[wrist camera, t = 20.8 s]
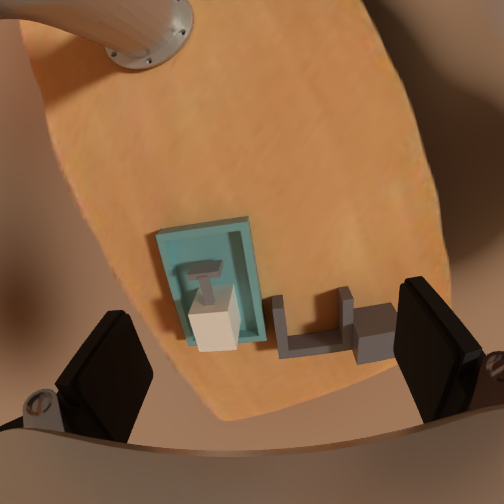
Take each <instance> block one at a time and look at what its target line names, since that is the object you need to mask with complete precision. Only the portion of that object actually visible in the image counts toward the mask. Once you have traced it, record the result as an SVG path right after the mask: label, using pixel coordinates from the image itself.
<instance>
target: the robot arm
mask: <svg viewBox="0 0 504 504" xmlns="http://www.w3.org/2000/svg"><path fill="white" fill-rule="evenodd" d="M0 19H21V20H29V21H34V22H39V23H42V24H46V25H49V26H52V27H55V28H58V29H61V30H64V31H66V32H69V33H72V34H74V35H77V36H80V37H82V38H85V39H88V40H90V41H93V42H95V43H98V44H100V45H102V46H104V49H105V51H106V53H107V55H108V56H109V58H110V59H111V60H112V61H113V62H115V63H116V64H118V65H120V66H122V67H125V68H128V69H134V70H142V69H148V68H152V67H155V66H158V65H160V64H162V63H164V62H166V61H167V60H169V59H171V58H172V57H173V56H174V55H175V54H177V53H178V52H179V51H180V49H181V48H182V47H183V46H184V45H185V43H186V41H187V40H188V38H189V36H190V34H191V31H192V28H193V23H194V15H193V11H192V7H191V5H190V4H189V2H188V1H187V0H180V1H178V0H0ZM183 33H185V35H182V34H183ZM116 54H117V55H116ZM150 61H152V62H151V63H150ZM393 352H394V356H395V358H396V360H397V363H398V365H399V367H400V369H401V371H402V374H403V376H404V378H405V380H406V382H407V385H408V387H409V389H410V392H411V394H412V396H413V398H414V401H415V403H416V406H417V408H418V411H419V413H420V415H421V418H422V420H423V423H424V424H422V425H418V426H414V427H410V428H406V429H402V430H398V431H394V432H390V433H385V434H380V435H376V436H371V437H366V438H361V439H355V440H350V441H344V442H337V443H331V444H323V445H315V446H307V447H296V448H285V449H270V450H248V451H247V450H246V451H209V450H187V449H172V448H160V447H151V446H142V445H133V444H127V442H128V439H129V436H130V434H131V431H132V429H133V426H134V423H135V421H136V419H137V416H138V413H139V411H140V408H141V406H142V404H143V401H144V399H145V396H146V394H147V391H148V389H149V386H150V384H151V381H152V379H153V370H152V367H151V365H150V363H149V361H148V359H147V356H146V354H145V352H144V349H143V347H142V344H141V342H140V340H139V337H138V335H137V332H136V330H135V327H134V325H133V322H132V320H131V317H130V315H129V314H126V313H125V312H124V311H123V310H113V311H108V312H107V313H106V314H105V315H104V317H103V318H102V319H101V320H100V322H99V323H98V325H97V326H96V327H95V328H94V330H93V331H92V332H91V334H90V335H89V337H88V338H87V339H86V340H85V342H84V343H83V344H82V346H81V347H80V348H79V350H78V351H77V353H76V354H75V356H74V357H73V358H72V360H71V361H70V362H69V364H68V365H67V367H66V368H65V369H64V371H63V372H62V374H61V375H60V377H59V378H58V379H57V381H56V383H55V385H56V387H57V388H58V390H59V391H58V392H57V394H56V393H55V392H54V391H53V390H51V389H42V390H38V391H36V392H34V393H33V394H31V395H30V396H29V397H28V398H27V400H26V401H25V403H24V405H23V416H22V417H19V418H17V419H15V420H13V421H11V422H8V423H6V424H4V425H2V426H0V504H504V351H495V352H491V353H489V354H487V355H485V354H484V352H483V351H482V347H481V346H480V345H479V344H478V342H477V341H476V340H475V338H474V337H473V336H472V334H471V333H470V332H469V331H468V329H467V328H466V327H465V326H464V324H463V323H462V322H461V321H460V319H459V318H458V317H457V316H456V315H455V314H454V312H453V311H452V310H451V309H450V307H449V306H448V305H447V304H446V303H445V302H444V300H443V299H442V298H441V297H440V296H439V295H438V293H437V292H436V291H435V290H434V289H433V288H432V287H431V285H430V284H429V283H428V282H427V281H426V280H425V279H424V278H423V277H422V276H418V277H412V278H406V279H405V281H404V283H402V284H401V285H400V290H399V302H398V312H397V321H396V329H395V337H394V344H393Z"/></svg>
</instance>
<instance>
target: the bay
mask: <svg viewBox="0 0 504 504" xmlns="http://www.w3.org/2000/svg"><path fill="white" fill-rule="evenodd" d="M353 304H354V299H353V296H352V294H351V292H350V290H349V288H348V286H347V287H340V288H338V330H332V331H325V332H318V333H310V334H302V335H294V336H287V328H286V319H285V311H284V303H283V295H277V296H272V311H273V318H274V325H275V332H276V339H277V346H278V353H279V359H285V358H294V357H303V356H311V355H319V354H326V353H333V352H340V351H346V350H352V351H353V354H354V357H355V360H356V363H357V365H359V364H365V363H370V362H376V361H381V360H386V359H391V358H395V356H394V352H393V344H394V337H395V329H396V321H397V312H396V310H395V308H394V307H393V305H392V304H391V303H386V304H380V305H374V306H368V307H362V308H356V309H353Z"/></svg>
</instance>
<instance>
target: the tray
mask: <svg viewBox="0 0 504 504" xmlns="http://www.w3.org/2000/svg"><path fill="white" fill-rule="evenodd" d="M156 239H157V243H158V247H159V251H160V254H161V258H162V262H163V265H164V269H165V273H166V276H167V280H168V283H169V287H170V290H171V293H172V297H173V300H174V303H175V306H176V310H177V313H178V316H179V319H180V322H181V325H182V329H183V332H184V335H185V338H186V341H187V344H188V346H197V342H196V339H195V336H194V333H193V330H192V327H191V323H190V320H189V317H188V313H189V311H190V308H191V306H192V303H193V301H194V298H195V296H196V294H197V291H198V289H199V288H200V283H199V280H192V281H188V278H187V273H188V272H189V270H190V268H191V266H192V264H193V263H199V262H207V261H215V260H223V264H224V266H223V269H222V272H221V275H220V277H219V278H210V281H211V285H212V286H219V285H228V284H234V288H235V293H236V298H237V303H238V308H239V313H240V317H241V323H240V330H239V337H238V343H247V342H259V341H267V328H266V322H265V315H264V309H263V303H262V297H261V290H260V284H259V278H258V272H257V266H256V259H255V253H254V247H253V241H252V235H251V228H250V222H249V216H246V217H239V218H232V219H225V220H218V221H211V222H204V223H197V224H191V225H184V226H178V227H171V228H165V229H161V230H160V231H159V232H158V233H157V234H156Z"/></svg>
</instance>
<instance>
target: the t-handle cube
mask: <svg viewBox="0 0 504 504" xmlns="http://www.w3.org/2000/svg"><path fill="white" fill-rule="evenodd" d="M223 266H224V264H223V260H215V261H207V262H199V263H193V264H192V266H191V268H190V270H189V272H188V273H187V278H188V281H192V280H199V283H200V288H199V289H198V291H197V294H196V296H195V298H194V301H193V303H192V306H191V308H190V311H189V313H188V317H189V320H190V323H191V327H192V330H193V333H194V336H195V339H196V342H197V346H198V349H199V352H208V351H225V350H237V344H238V337H239V330H240V323H241V317H240V313H239V308H238V303H237V298H236V293H235V288H234V284H228V285H219V286H212V285H211V281H210V278H219V277H220V275H221V272H222V269H223Z"/></svg>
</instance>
